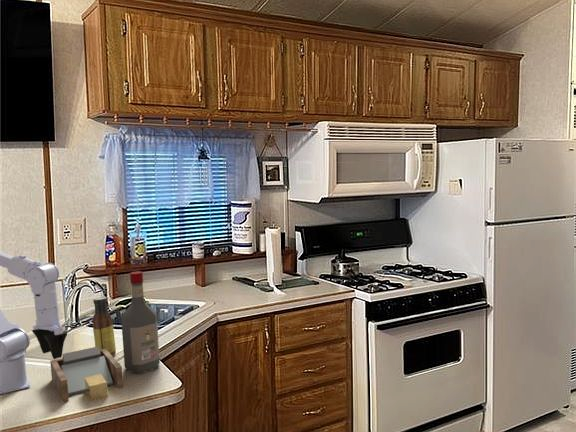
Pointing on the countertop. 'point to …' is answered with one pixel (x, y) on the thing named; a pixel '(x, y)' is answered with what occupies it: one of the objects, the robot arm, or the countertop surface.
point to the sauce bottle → (103, 326)
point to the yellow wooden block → (96, 387)
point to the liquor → (139, 331)
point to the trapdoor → (84, 368)
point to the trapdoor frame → (61, 380)
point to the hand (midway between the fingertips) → (52, 355)
